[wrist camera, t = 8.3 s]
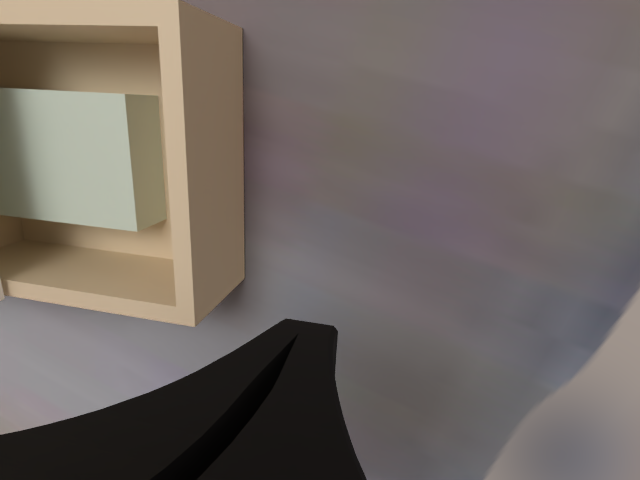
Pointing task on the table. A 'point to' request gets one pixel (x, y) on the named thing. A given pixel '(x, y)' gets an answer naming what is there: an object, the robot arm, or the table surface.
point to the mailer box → (121, 156)
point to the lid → (1, 292)
